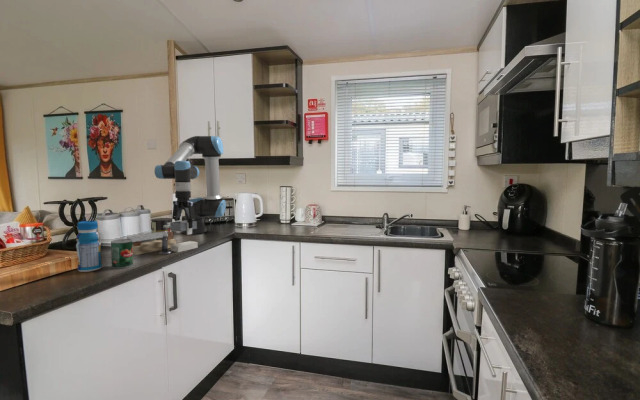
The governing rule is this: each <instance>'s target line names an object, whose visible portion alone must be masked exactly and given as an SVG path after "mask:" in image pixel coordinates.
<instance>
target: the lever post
mask: <svg viewBox="0 0 640 400" xmlns="http://www.w3.org/2000/svg"><path fill="white" fill-rule="evenodd" d="M172 252H173V251H171V250H169V248H168V239H167V237H162V250H159V251H158V256H159V255H160V256H165V255H171V254H172Z"/></svg>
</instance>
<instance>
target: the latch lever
mask: <svg viewBox="0 0 640 400" xmlns="http://www.w3.org/2000/svg"><path fill="white" fill-rule="evenodd" d="M162 237H168V231H162V232H157V233H152V232H151V233H143V234H136V235H129V236H126V239H131V240H132V243H133V242H136V241H148V240H152V239H156V238H162Z"/></svg>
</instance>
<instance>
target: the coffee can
mask: <svg viewBox="0 0 640 400" xmlns="http://www.w3.org/2000/svg"><path fill="white" fill-rule="evenodd" d="M150 221H151V222H150V223H151V233H157V232H162V231H168V232H172V230H171V229H170V222H172V217H158V218H152V219H150ZM156 240H162V238H156V239H151V241H156Z"/></svg>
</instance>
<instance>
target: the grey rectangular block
mask: <svg viewBox="0 0 640 400" xmlns="http://www.w3.org/2000/svg"><path fill="white" fill-rule="evenodd" d="M192 226H193V227H192V229H197V221H193V222H192ZM170 229H171V231H175V232H176V231H181V232H182V231H186V230H187V220H185V219H184V220H181V221H177V222H175V221H171V222H170Z"/></svg>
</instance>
